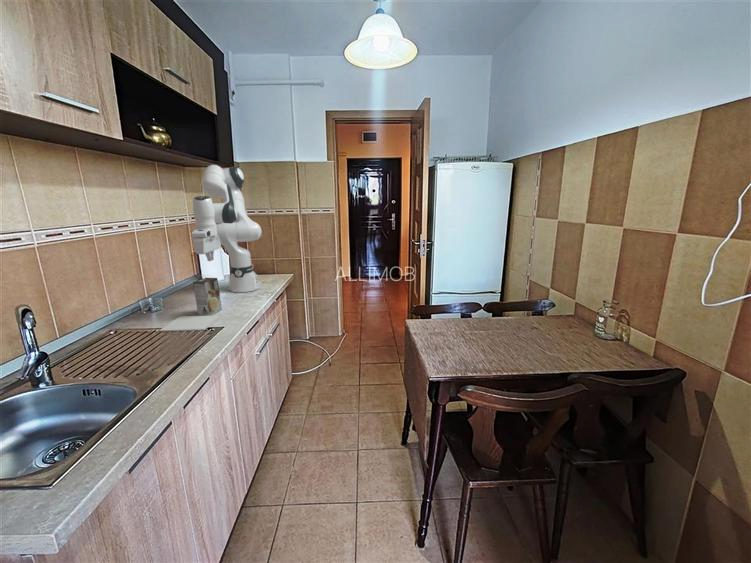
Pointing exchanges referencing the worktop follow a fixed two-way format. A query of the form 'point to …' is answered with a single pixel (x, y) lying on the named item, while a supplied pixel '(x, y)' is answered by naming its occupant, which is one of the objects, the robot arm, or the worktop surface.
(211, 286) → the coffee box
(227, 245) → the robot arm
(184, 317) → the mat
